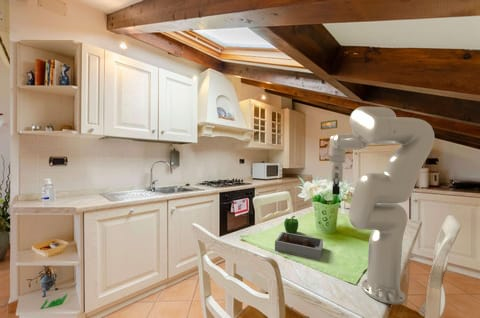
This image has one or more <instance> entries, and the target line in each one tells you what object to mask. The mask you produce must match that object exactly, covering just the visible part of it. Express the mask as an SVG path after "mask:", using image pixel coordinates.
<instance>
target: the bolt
mask: <svg viewBox="0 0 480 318" xmlns="http://www.w3.org/2000/svg"><path fill="white" fill-rule="evenodd" d="M283 242H286V243H291V244H296V245H302V246H307V247H312V248H315V242H312V241H308V239H307V238H304V240H302V239H297V238H293V237H289V236H288V234H285V235H284V240H283Z"/></svg>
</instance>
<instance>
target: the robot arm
mask: <svg viewBox="0 0 480 318" xmlns="http://www.w3.org/2000/svg"><path fill="white" fill-rule="evenodd" d="M349 126H350V128H351V132H352V133H337V134H334V135H331V136H330V138H329V150H328V151H329V152H328V153H329V155H328V156H329V158H328V163H330V165H331V167H330V169H331V170H330V171H331V173H330V174H331V182H333V183H332V188H331V189H332V191H331V192H332V195H336V196H338V195H340V193H341V192H340V190H341V189H340V188H341V187H340V183H342V182H343V174H344V173H343V172H344V170H343V169H344V163H346V150H352V151H355V150H356V151H359V150H362V149H365V148H367V147H369V146H371V144H375V145H401V146H400V147H399V148H398V149H397V150H395V152H393V154H392V155H391V156H390V157H389V158H388V161H387V164H386V166H385V169H384V171H383V172H380V173H379V172H378V173H376V172H373V173H372V172H368V173H365V174H363V175H361V176H360V177H358V180H357V181H356V183H355V187H354V189H353V190H354V191H353V194H352V197H351V198H352V199H351V202H350V206H349V209H348V218H349V222H350V224H351V226H353V227H354V229H357V230H361V231H372V232H371V234H370V236H369V239H368V251H367V252H368V254H367V256H368V257H367V272H366V273H367V275H366V276H367V278H366V279H363V281H361V282H362V283H361V288H362V290H363V292H364V293H365V294H366V295H367V296H369V297H371V298H372V299H374V300H376V301H378V302H380V303H384V304H388V305H401V304H402V305H403V303H405V302H406V295H405V293H404V291H403V290H401V274H402V273H401V271H402V255H403V254H402V252H403V241H404V236H405V235H404V234H405V230H406V227H407V224H408V213H407V211H406V209H405V208H404V207H403V206H402V205H400V204H402V203H406V202H407V201H408V200H409V199H410V198H411V196H412V193H413V191H414V188H415V186H416V183H417V181H418V178H419V177H420V173H421V170H422V168H423V166H424V164H425V162H426V160H427V159H428V157H429V155H430V153H431V151H432V149H433V146H434V143H435V131H434V130H433V126H432V125H431V124H430V123H428V122H427V121H426V120H424V119H421V118H417V117H416V118H415V117H401V116H400V117H399V116H398V117H397V115H396V113H395V112H394V110H393V109H391V108H388V107H385V106H359V107H357V108H355V109H354V110H353V111H352V112H351V114H350V116H349Z"/></svg>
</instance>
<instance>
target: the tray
mask: <svg viewBox="0 0 480 318" xmlns="http://www.w3.org/2000/svg"><path fill="white" fill-rule="evenodd" d="M285 234H288V236H289V237H293V238H297V239H302V240H304V238H307V239H308V241H312V242H315V248H312V247H307V246H302V245H296V244H291V243H286V242H283V240H284V235H285ZM323 249H324V238H319V237H314V236H307V235H303V234H291V233H287V232H286V231H285V232H284V231H282V232H280V234H279V235H278V237H277V238H276V239H275V240H274V251H277V252H281V253H285V254H291V255H296V256H300V257H303V258H308V259H309V258H310V259H314V260H319V261H321V259H322V254H323V253H322V252H323Z"/></svg>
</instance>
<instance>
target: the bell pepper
mask: <svg viewBox="0 0 480 318" xmlns="http://www.w3.org/2000/svg"><path fill="white" fill-rule="evenodd" d="M283 222H284V229H285V232H286V233H291V234H296V233H297V232H298V228H299V221H298V219H297V218H296V215H292V216H291V218H285V220H284V221H283Z"/></svg>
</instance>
